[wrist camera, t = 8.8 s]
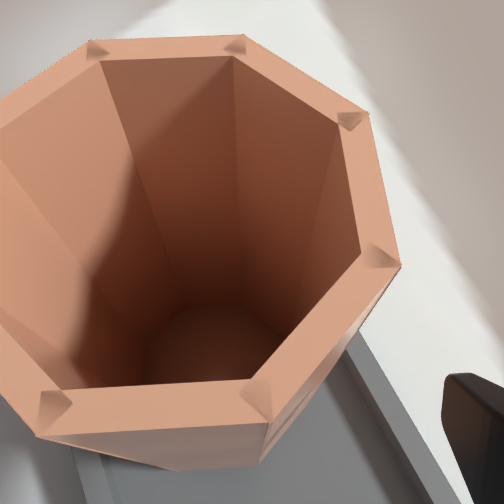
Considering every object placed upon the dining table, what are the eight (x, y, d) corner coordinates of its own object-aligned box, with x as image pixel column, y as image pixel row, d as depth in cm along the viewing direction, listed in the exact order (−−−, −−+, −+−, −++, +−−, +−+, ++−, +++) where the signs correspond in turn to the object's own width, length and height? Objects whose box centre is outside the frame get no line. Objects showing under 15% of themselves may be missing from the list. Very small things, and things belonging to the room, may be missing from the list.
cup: (309, 464, 17) (434, 413, 6) (128, 475, 17) (-135, 448, 5) (292, 296, 20) (351, 30, 8) (137, 305, 20) (-22, 43, 8)
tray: (468, 549, 17) (492, 556, 15) (171, 733, 14) (161, 764, 13) (274, 212, 23) (276, 191, 21) (44, 307, 20) (26, 291, 19)
